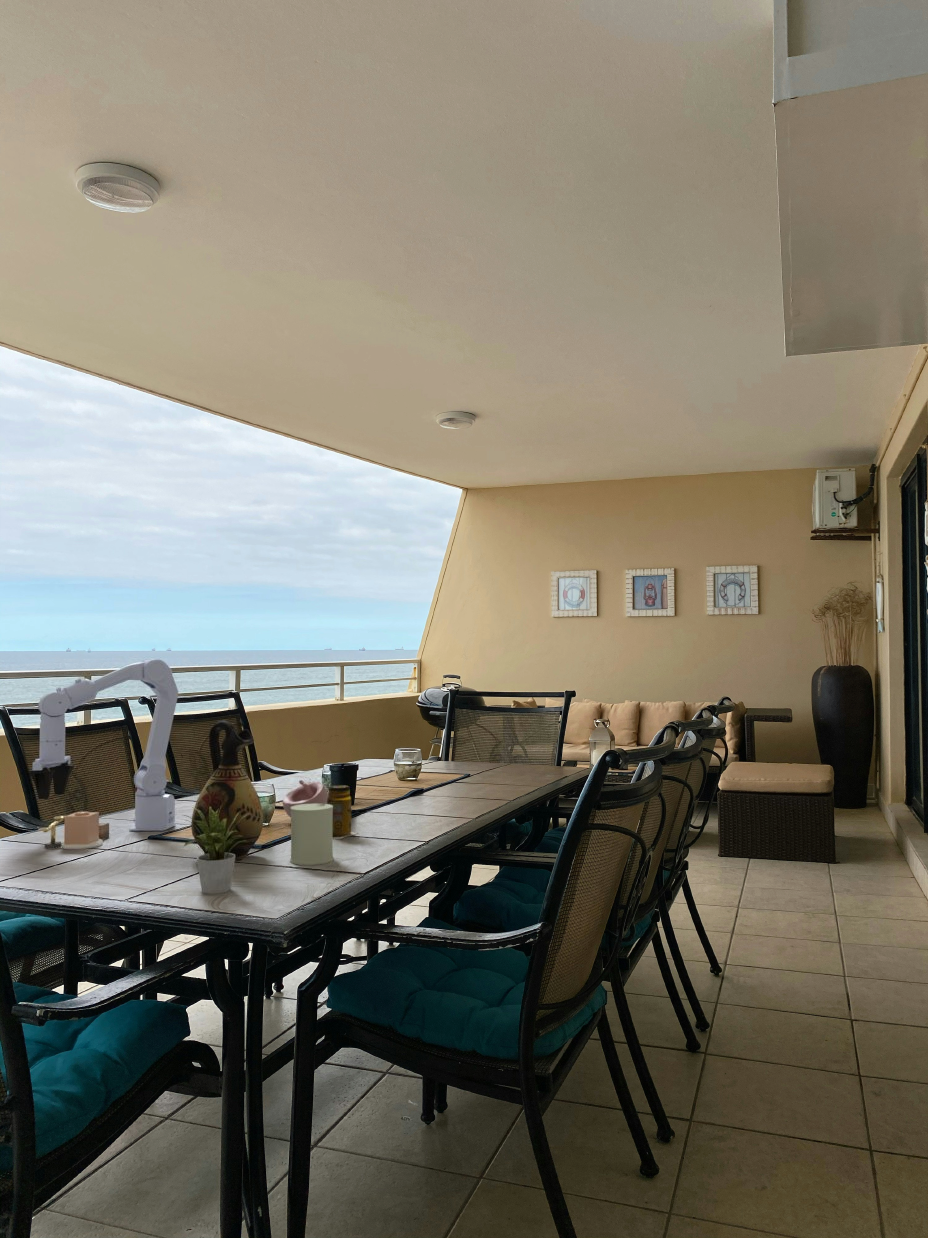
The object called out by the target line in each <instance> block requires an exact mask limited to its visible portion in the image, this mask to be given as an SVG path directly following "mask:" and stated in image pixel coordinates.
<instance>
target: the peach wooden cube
mask: <svg viewBox="0 0 928 1238" xmlns="http://www.w3.org/2000/svg"><path fill="white" fill-rule="evenodd" d="M64 816H65V819H64V832H63V833H64V836H63V839H64V841H63V842H64V845H68V844H90V843H92V842H95V841H97V840H99V823H100V812H99V811H98V812H96V811H95V812H93V811H91V812H90V811H78V812H73V813H70V814H68V815H64Z"/></svg>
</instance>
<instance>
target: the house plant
mask: <svg viewBox="0 0 928 1238" xmlns="http://www.w3.org/2000/svg"><path fill="white" fill-rule="evenodd" d="M222 805H223V804H222ZM194 809H196V808H194V807H193V810H194ZM220 809H221V807H220ZM196 810H197V811H198V813H199V814H200V817H201V819H202V821H197V822H198V823H199V824H198V823H197V822H196V821H195V820H194V819H193V820H194V821H195V822H196V823H197V824H196V825H198V826H199V827H200V828H201V830H202V831H203V832H204V834H202V835H200V836H197V837H199V838H200V839H202V841H203V842H204V843H202V842H199V841H195V840H189V841H186V842H185V843H184V845H183V846H182V848H184V847H187V846H188V845H190V844H194V843H197V842H199V843H201V844H203V845H204V846H205V848H206V850H207V851H208V853H209V854H204V853H203V854H202V855H199V856H197V857H196V862H197V868H198V875H199V882H200V886H201V892H202V893H204V894H211V895H212V894H221V893H226V892H229V891H230V890H231V888H232V887H231V886H232V881H233V874H234V869H235V862H236V861H235V854H232V853H229V852H230V850H231V849H232V848H233V847H234V846H235V845H236V844H238V843H240V842H242V841H240V842H237V843H236V844H234V845H233V846H232V847H231V848H230V850H229V851H228V853H225V852H226V850H227V848H228V847H229V846H230V844H231V843H232V842H233V841H234V840H235V839H237V838H239V837H241V836H240V835H236V836H233V837H231V838H230V839H229V840H228V841H227V842H226V840H227V838H228V836H229V835H230V834H231V833H232V832H234V831H232V830H231V831H230V832H228V831H229V829H230V827H231V826H232V824H233V823H234V821H235V819H236V817H237V815H238V814H237V815H236V816H235V818H234V819H233V821H232V823H231V825H230V826H229V828H228V830H227V832H226V834H225V829H226V820H227V818H225V819H223V820H222V821H221V822H220V820H219V817H218V816H219V812H220V810H219V809H218V810H219V812H218V810H217V811H216V812H214V811H213V810H212V809H211V807H209V824H210V829H209V827H208V825H207V822H206V819H205V817H204V815H203V813H202V812H201V811H200V810H198V809H196ZM217 812H218V815H217ZM239 812H240V811H239ZM253 813H254V812H253ZM249 814H250V813H249ZM247 815H248V814H247ZM183 816H185V817H187V818H189V819H191V820H192V816H189V815H186V814H183ZM245 816H246V815H245ZM245 816H244V817H245ZM185 822H189V823H191V821H189V820H187V819H185ZM192 824H193V823H192ZM193 825H194V824H193ZM194 826H195V825H194ZM195 827H196V826H195ZM233 828H234V827H233ZM233 828H232V829H233ZM197 830H198V829H197ZM198 831H199V830H198ZM210 831H211V832H210ZM235 831H236V830H235ZM200 834H201V833H200ZM224 834H225V836H224ZM177 838H179V839H183V837H181V836H179V837H177ZM184 839H185V840H187V838H186V837H184ZM243 841H246V840H243ZM197 848H198V849H199V850H201V848H200V846H197Z"/></svg>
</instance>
